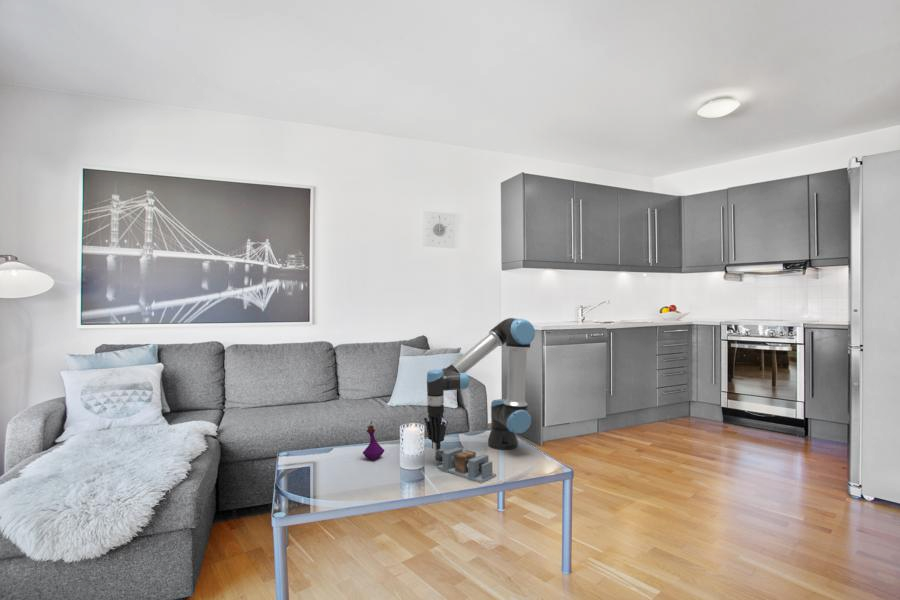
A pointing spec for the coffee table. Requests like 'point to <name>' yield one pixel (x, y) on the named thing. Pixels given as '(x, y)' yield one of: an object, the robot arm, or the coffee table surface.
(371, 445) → the perfume bottle
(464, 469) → the spacer
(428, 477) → the coffee table surface
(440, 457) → the shaft
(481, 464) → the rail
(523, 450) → the coffee table surface
